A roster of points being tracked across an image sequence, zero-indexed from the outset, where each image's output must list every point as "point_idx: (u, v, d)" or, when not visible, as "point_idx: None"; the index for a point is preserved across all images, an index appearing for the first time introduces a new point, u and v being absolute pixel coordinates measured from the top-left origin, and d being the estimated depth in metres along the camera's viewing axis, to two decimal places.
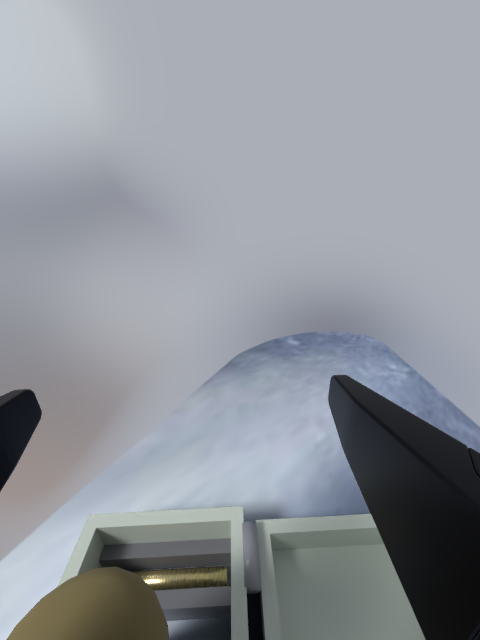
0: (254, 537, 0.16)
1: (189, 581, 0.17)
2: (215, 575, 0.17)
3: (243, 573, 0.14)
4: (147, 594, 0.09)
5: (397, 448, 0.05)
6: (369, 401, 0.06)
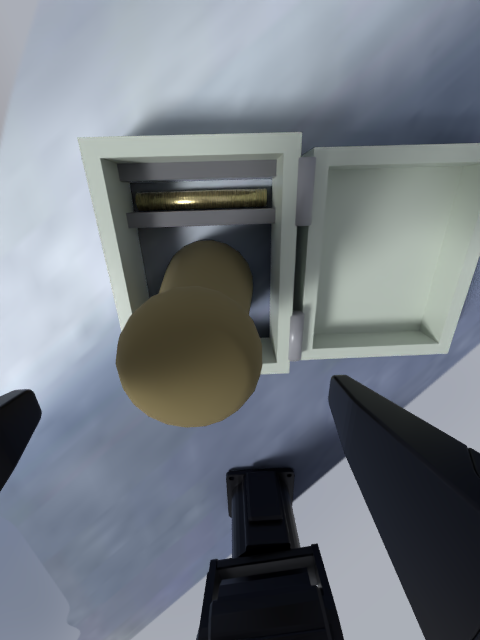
0: (312, 177, 0.13)
1: None
2: (254, 206, 0.16)
3: (295, 214, 0.13)
4: (239, 327, 0.08)
5: (397, 448, 0.05)
6: (369, 401, 0.06)
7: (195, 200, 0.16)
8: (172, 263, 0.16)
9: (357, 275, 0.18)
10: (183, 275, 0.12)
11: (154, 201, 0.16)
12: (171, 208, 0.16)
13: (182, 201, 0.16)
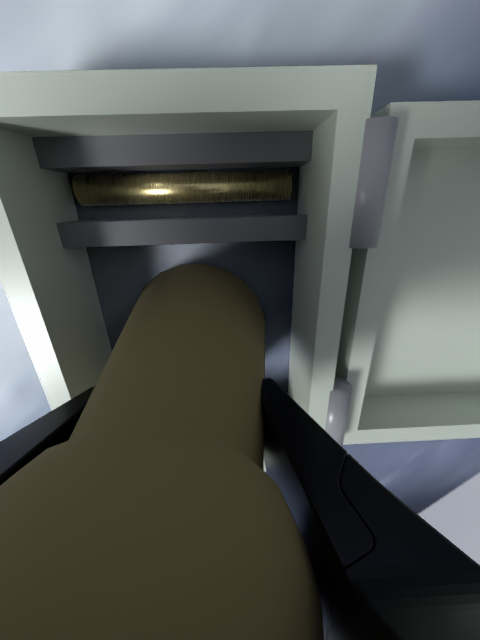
0: (389, 158, 0.07)
1: (227, 188, 0.09)
2: (272, 180, 0.09)
3: (351, 228, 0.07)
4: None
5: (284, 454, 0.05)
6: (277, 405, 0.06)
7: (173, 173, 0.10)
8: (137, 305, 0.10)
9: (425, 316, 0.12)
10: (139, 351, 0.06)
11: None
12: (129, 182, 0.09)
13: (151, 174, 0.10)
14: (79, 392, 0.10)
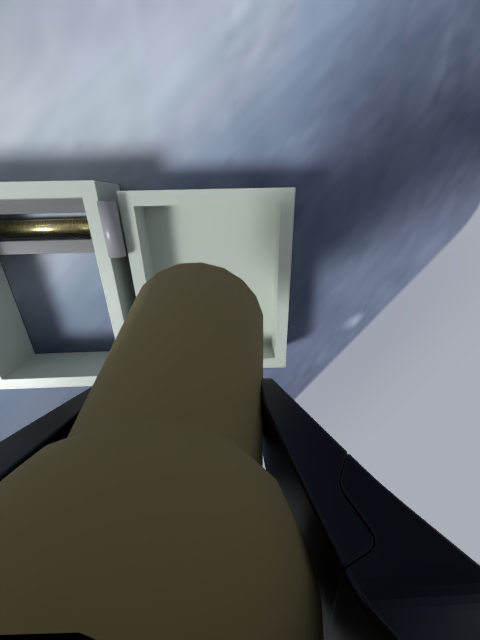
0: (111, 217, 0.15)
1: (68, 227, 0.18)
2: None
3: (105, 248, 0.15)
4: None
5: (284, 454, 0.05)
6: (277, 405, 0.06)
7: None
8: (135, 304, 0.10)
9: None
10: (138, 349, 0.06)
11: (5, 220, 0.18)
12: (15, 224, 0.17)
13: (30, 220, 0.18)
14: None
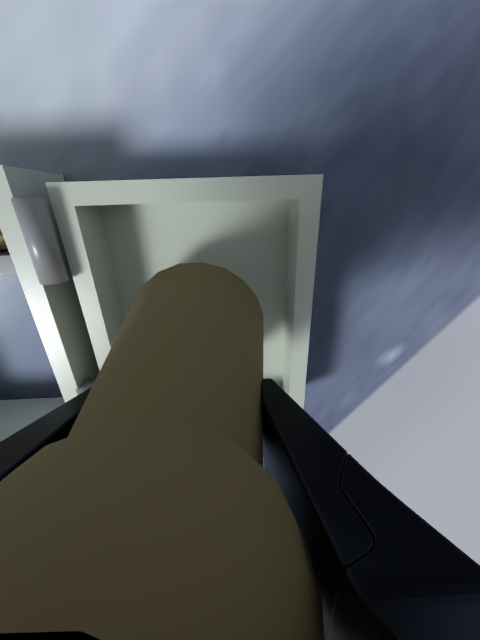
0: (37, 224, 0.09)
1: None
2: None
3: (32, 270, 0.10)
4: None
5: (284, 454, 0.05)
6: (277, 405, 0.06)
7: None
8: (135, 304, 0.10)
9: None
10: (138, 349, 0.06)
11: None
12: None
13: None
14: None
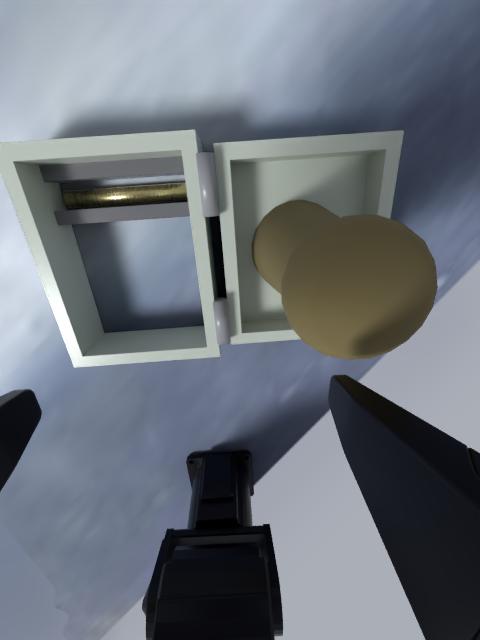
0: (211, 171, 0.14)
1: (149, 187, 0.17)
2: (175, 183, 0.17)
3: (201, 206, 0.14)
4: (427, 248, 0.08)
5: (397, 448, 0.05)
6: (369, 401, 0.06)
7: None
8: (273, 220, 0.16)
9: None
10: (311, 221, 0.12)
11: None
12: (96, 189, 0.17)
13: None
14: (71, 309, 0.17)
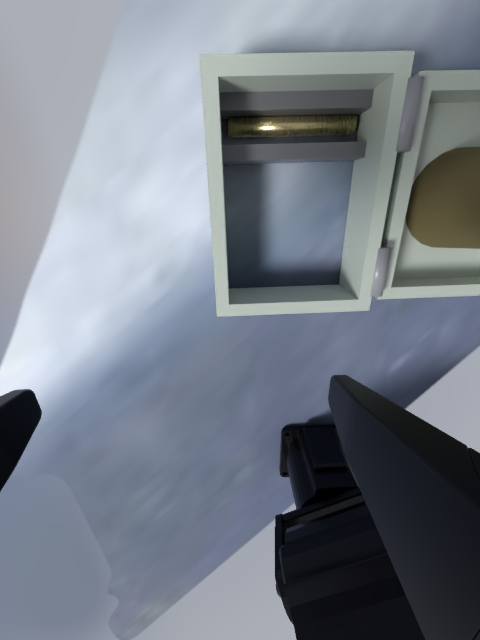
0: (419, 98, 0.13)
1: None
2: None
3: (397, 138, 0.14)
4: None
5: (397, 448, 0.05)
6: (369, 401, 0.06)
7: None
8: (457, 161, 0.15)
9: None
10: None
11: None
12: None
13: None
14: (226, 251, 0.16)
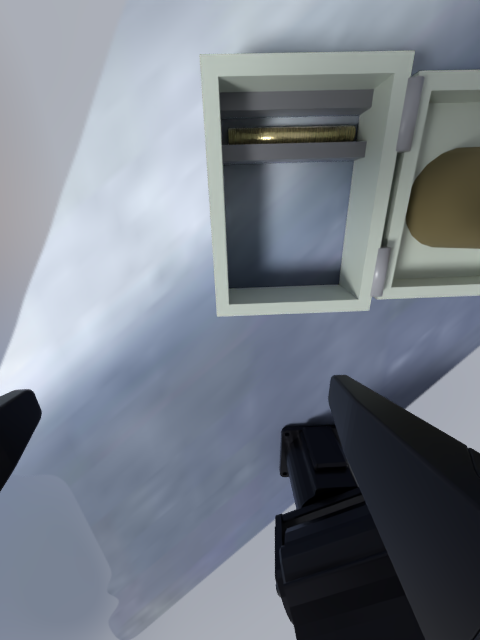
0: (419, 98, 0.13)
1: (317, 127, 0.16)
2: None
3: (397, 138, 0.14)
4: None
5: (397, 448, 0.05)
6: (369, 401, 0.06)
7: None
8: (457, 161, 0.15)
9: None
10: None
11: None
12: (260, 128, 0.16)
13: None
14: (226, 251, 0.16)
